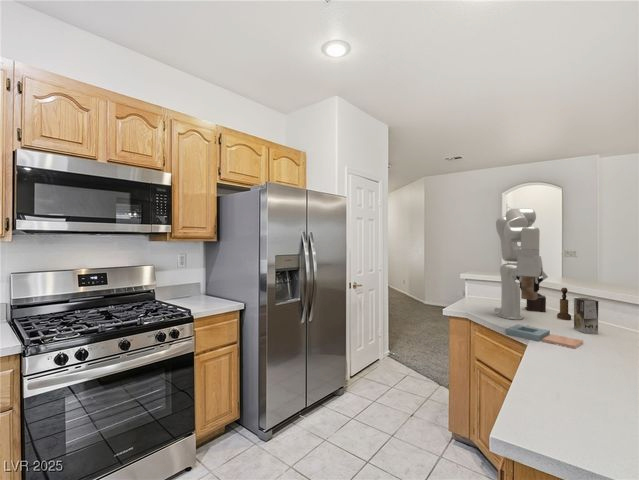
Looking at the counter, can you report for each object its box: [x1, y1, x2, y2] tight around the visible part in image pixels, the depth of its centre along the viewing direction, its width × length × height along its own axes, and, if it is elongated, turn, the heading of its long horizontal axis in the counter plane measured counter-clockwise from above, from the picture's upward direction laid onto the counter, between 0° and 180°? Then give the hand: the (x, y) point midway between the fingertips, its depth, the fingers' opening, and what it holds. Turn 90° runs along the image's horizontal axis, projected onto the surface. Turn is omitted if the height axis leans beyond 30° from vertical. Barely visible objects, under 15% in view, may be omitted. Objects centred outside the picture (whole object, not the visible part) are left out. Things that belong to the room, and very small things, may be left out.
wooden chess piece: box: [556, 287, 572, 321], centre depth 188 cm, size 7×6×18 cm
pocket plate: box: [505, 323, 551, 342], centre depth 155 cm, size 14×14×2 cm
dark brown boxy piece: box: [524, 292, 547, 313], centre depth 208 cm, size 16×11×18 cm
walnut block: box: [520, 276, 538, 300], centre depth 155 cm, size 5×5×11 cm
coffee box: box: [573, 297, 600, 335], centre depth 162 cm, size 9×6×16 cm
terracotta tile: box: [541, 333, 584, 349], centre depth 144 cm, size 12×12×1 cm
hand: (529, 290), depth 155 cm, fingers closed on walnut block, 5 cm apart
